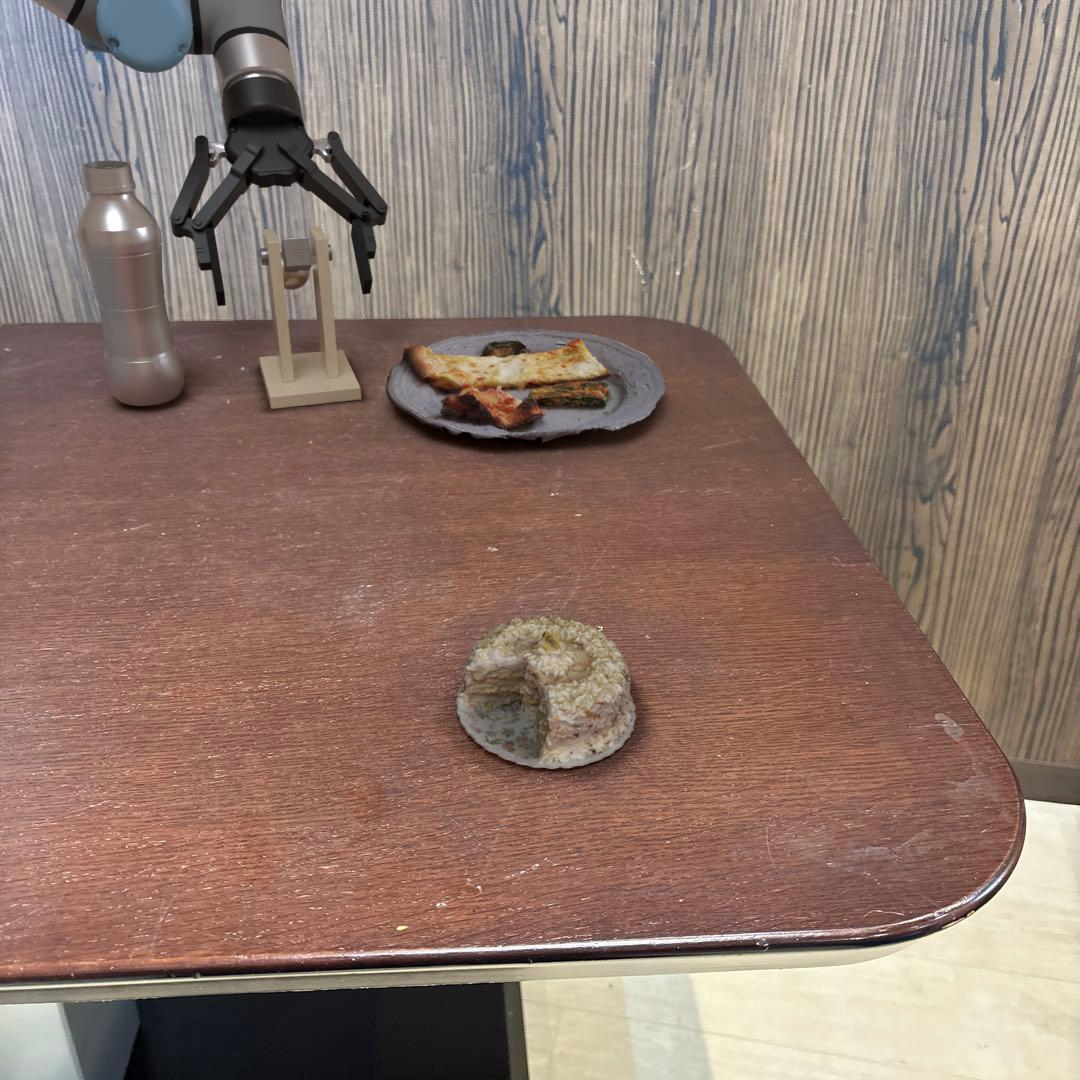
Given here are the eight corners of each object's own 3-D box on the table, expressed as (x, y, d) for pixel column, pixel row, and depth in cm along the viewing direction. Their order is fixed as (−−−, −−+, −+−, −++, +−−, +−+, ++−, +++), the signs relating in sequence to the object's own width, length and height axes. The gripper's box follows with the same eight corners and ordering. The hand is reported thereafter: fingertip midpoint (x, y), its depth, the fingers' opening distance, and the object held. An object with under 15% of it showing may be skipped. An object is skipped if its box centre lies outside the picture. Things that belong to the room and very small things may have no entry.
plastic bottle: (152, 380, 93) (110, 153, 83) (204, 396, 91) (168, 163, 80) (94, 403, 89) (42, 165, 78) (147, 421, 86) (100, 177, 75)
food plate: (396, 464, 80) (394, 424, 78) (378, 359, 99) (376, 324, 98) (695, 444, 84) (700, 406, 83) (622, 347, 104) (625, 314, 102)
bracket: (260, 368, 97) (241, 222, 90) (343, 360, 99) (332, 217, 92) (271, 409, 89) (251, 252, 81) (361, 399, 91) (350, 245, 84)
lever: (272, 293, 97) (267, 255, 96) (310, 290, 98) (305, 253, 97) (279, 274, 86) (273, 231, 86) (321, 271, 87) (315, 229, 87)
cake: (524, 640, 61) (531, 563, 59) (668, 707, 57) (682, 626, 54) (416, 717, 54) (419, 633, 51) (571, 801, 49) (583, 713, 47)
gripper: (381, 118, 106) (420, 301, 102) (130, 126, 99) (160, 323, 95) (389, 69, 99) (430, 263, 95) (119, 74, 92) (151, 283, 88)
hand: (295, 293), depth 95 cm, fingers open, 13 cm apart
